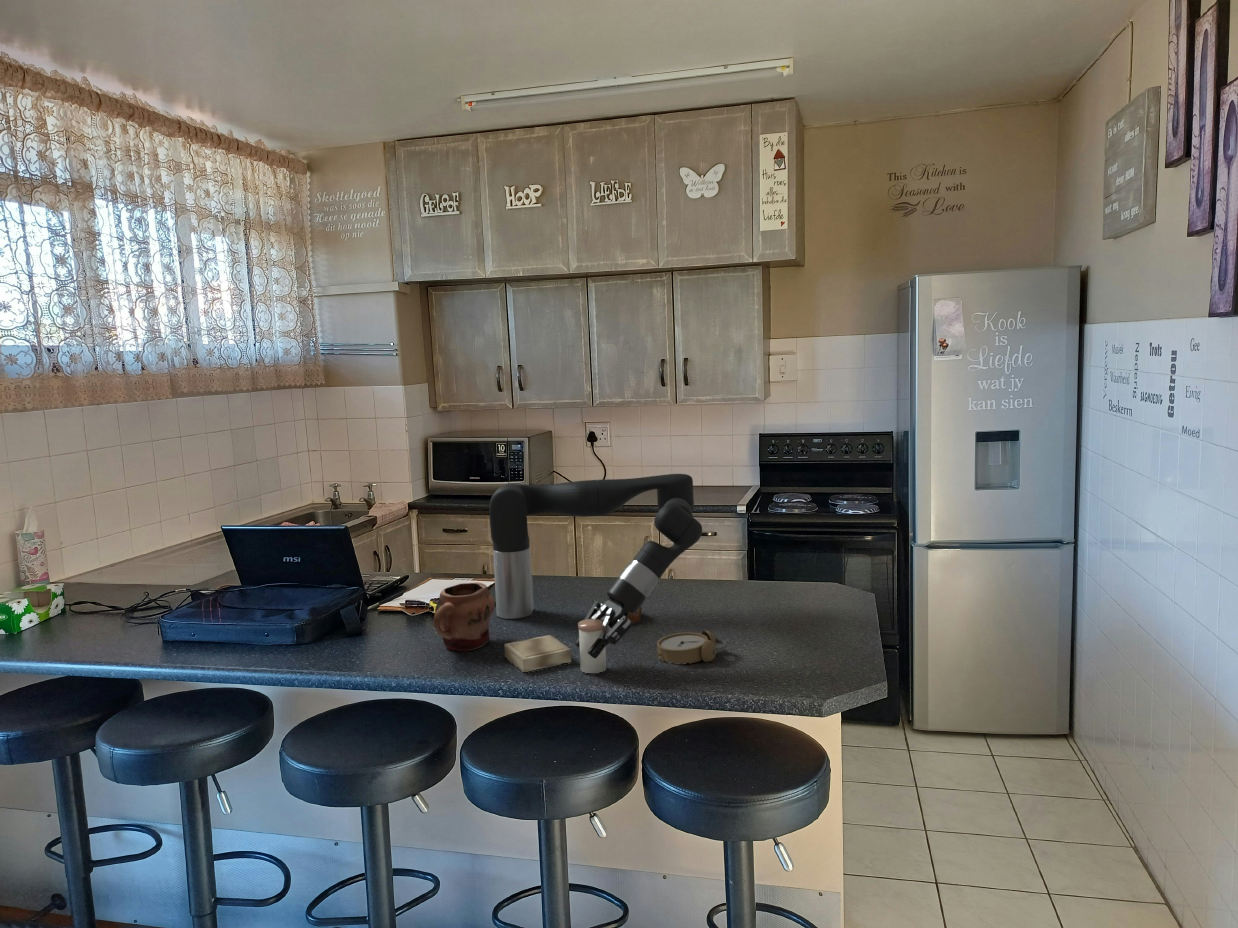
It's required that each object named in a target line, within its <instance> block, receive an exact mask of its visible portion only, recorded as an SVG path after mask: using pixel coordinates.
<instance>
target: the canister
mask: <svg viewBox="0 0 1238 928" xmlns="http://www.w3.org/2000/svg"><path fill="white" fill-rule="evenodd" d="M577 627H578V638H579V645H580V648H579V664H580V672H581V671H582V672H581V673H583V672H585V673H584V674H586V673H598V674H600V673H599V672H602V673H604V672H605V671H607V655H606V654H607V653H606V652H607V651H606V646H605V647H604V649H603V650H602V652H601V653H600V654H599V655H598V657H597V658H593V657H592V656H590V655H589V654H588V650H589V649H590V648H591V646H592V645H593V644H594V642H595V641H596V640H597V639H598V638H599V636H600V634H601V632H602V630H603V621H602V620H600V619H591V618H590V619H586V620H584V619H583V620H580V621H579V622H578V623H577ZM599 639H600V638H599ZM603 671H604V672H603Z"/></svg>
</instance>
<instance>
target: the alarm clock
mask: <svg viewBox="0 0 1238 928" xmlns="http://www.w3.org/2000/svg"><path fill="white" fill-rule="evenodd" d="M717 644H721V646H719V647H716V646H717ZM726 645H727V643H726V641H725V640H724V639H721V638H717V637H716V636H715V635H714V634H713V633H712V631H709V630H703V631H702V633H699V632H688V631H687V632H677V633H672V634H668V635H665V636H663V637H661V638H659V639H658V640H657V642H656V646H657V647H656V648H657V654H655V657H658V656H659V657H658V659H659V658H661V659H662V660H664V661H667V662H671V663H689V664H693V663H698V662H701V661H703V662H704V663H710V662H712V661H713V660H714V659H715V658H716V655H717V654H718V653H721V652H723V651H724V650H726V648H727V646H726ZM662 660H661V661H662ZM664 661H663V662H664ZM709 661H710V662H709Z"/></svg>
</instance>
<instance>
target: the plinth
mask: <svg viewBox="0 0 1238 928" xmlns="http://www.w3.org/2000/svg"><path fill="white" fill-rule="evenodd" d="M505 657H506V658H507V659H506V658H505ZM504 658H505V659H506V660H507V661H508V662H510V663H511V664H512V663H513V664H514V665H515V666H514V667H516V668H517V667H518V668H519V669H520V670H521V671H522V672H528V671H532V670H536V669H540V668H544V667H548V666H553V665H558V664H561V663H567V662H571V663H572V650H571V648H569V647H568V646H567V645H565V644H564V643H562V642H561V641H560V640H558V639H557V638H556V637H554V636H553V635H551V634H547V635H542V636H538V637H532V638H528V639H523V640H519V641H514V642H508V643H504ZM513 664H512V665H513ZM518 668H517V669H518ZM519 669H518V670H519ZM520 670H519V671H520ZM521 671H520V672H521ZM522 672H521V673H522ZM532 672H533V671H532ZM528 673H529V672H528Z"/></svg>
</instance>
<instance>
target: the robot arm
mask: <svg viewBox="0 0 1238 928" xmlns="http://www.w3.org/2000/svg"><path fill="white" fill-rule="evenodd" d="M652 490H656V497H657V509H658V512H657V513H656V515H655V516H654V517H655V518H654V520H653V525H654V527H655V529H656V530H657V531H658V532H659V533H660V534H661V535H663V536H664V537H665V538H667V539H668V540H669V541H670V542H672V543H673V545H672V546H664V545H663V544H660V543H658V542H656V541H653V540H648V541H646V542H645V543H644V544H643V545H642V546H641V548H640V549H639V551H638V552H637V553H636V555H635V556H634V557H633V558H632V560H631V561H630V562H629V563H628V564H627V565H626V566H625V567H624V569H623V570H622V571H621V573H620V574H619V575H618V576H617V578H616V580H614V582H613V583H612V584H611V586H610V587H609V589H608V590H607V591H606V595H607V597H608V599H607V600H606V601H605V602H603V603H601V602H599V601H597V600H596V601H594V603H593V604H592V606H591V608H590V609H589V611H588V613H587V615H586V616H585V617H584V619H583V620H586V619H600V620H602V621H603V630H602V632H601V634H600V636H599V638H600V639H599V638H598V639H597V640H596V641H595V642H594V644H593V645H592V646H591V648H590V649H589V650H588V654H589V655H590V656H592V657H593V658H597V657H598V655H599V654H600V653H601V652H602V650H603V649H604V647H605V648H606V647H607V645H608V646H609V645H611V644H612V645H613V646H615V645H616V644H617V643H618V642H619V641H620V640H621V639H622V637H623V636H624V635H626V633H627V632H628V631H629V630H630V629H631V628H632V627H633V625H634V624H633V623H632V622H631V621H630V620H629V619H627V617H628V615H629V613H631V614H635V613H636V612H637V611H638V609H639V608H640V606H641V607H642V605H643V604H644V602H645V601H646V600H647V598H648V597H649V596H650V594H651V592H652V591H653V590H654V589H655V586H656V585H657V583H658V582H659V580H660V578H661V577H662V576H663V574H664V573H665V572H666V570H667V569H668V568H669V567H670V565H671V564H672V563H673V562H674V561H675V560H676V559H677V558H678V557H679V556H681V555H683V553H684V552H686V551H687V550H688V549H690V548H691V547H693V545H695V544H696V543H697V542H698V541H699V540H700V539H701V537H702V534H703V526H702V524H701V523H700V521H699V520H697V519H696V518H695V517H694V515H693V512H694V508H695V506H694V505H695V501H694V499H695V498H694V481H693V477H692V476H691V475H690V474H687V473H669V474H661V475H652V476H645V477H644V476H643V477H633V478H614V479H613V478H610V479H587V480H578V481H576V480H575V481H568V482H567V481H566V482H561V483H560V482H559V483H553V484H519V483H518V484H517V483H508V484H504V485H502V486H500V487H498V488H497V489H496V490H495V492H494V493H493V495H491V498H490V500H489V504H488V505H489V507H488V509H489V524H490V525H489V526H490V527H489V528H490V537H491V542H492V551H493V553H492V554H493V569H494V588H495V590H494V591H495V607H496V610H495V611H496V616H497V617H499V618H502V619H505V620H506V619H507V620H509V619H511V620H513V619H522V618H525V617H529V616H530V615H532V614H533V610H534V609H535V606H534V602H535V601H534V583H533V581H534V580H533V573H532V572H531V571H532V569H531V552H530V551H531V550H530V537H529V532H528V516H530V515H531V516H533V515H539V514H540V515H541V514H556V515H563V516H569V517H578V518H579V517H580V518H582V517H584V518H585V517H587V518H589V517H590V518H591V517H603V516H608V515H610V514H612V513H614V512H616V511H617V510H619V509H620V508H621V507H622V506H624V505H625V504H626V503H627V502H629V501H631V500H632V499H634V498H635V497H637V496H639V495H640V494H644V493H646V492H648V491H652ZM574 646H576V647H577V648H578V649H580V645H579V637H578V638H577V640H576V641H575V645H574Z"/></svg>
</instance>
